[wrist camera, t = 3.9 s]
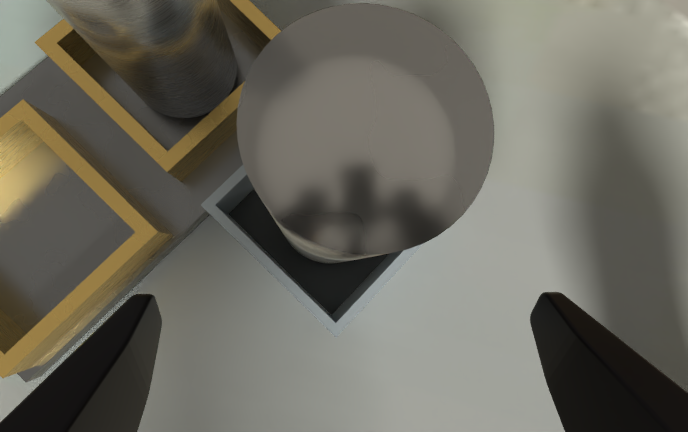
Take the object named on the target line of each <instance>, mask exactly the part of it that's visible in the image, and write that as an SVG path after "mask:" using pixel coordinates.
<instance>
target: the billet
mask: <svg viewBox="0 0 688 432" xmlns="http://www.w3.org/2000/svg"><path fill="white" fill-rule="evenodd" d="M237 140H238V145H239V150H240V155H241V159H242V162H243V165H244V168H245V171H246V173H247V175H248V177H249V179H250V181H251V183H252V185H253V187H254V189H255V191H256V192H257V194H258V195H259V197H260V199H261V200H262V202H263V203H264V205H265V206H266V208H267V209H268V211H269V212H270V214H271V216H272V217H273V219H274V220H275V222H276V223H277V225H278V226H279V228H280V230H281V231H282V233H283V234H284V236H285V237H286V239H287V240H288V242H289V243H290V245H291V246H292V247H293V248H294V249H295V250H296V251H297V252H298V253H300V254H301V255H303V256H304V257H306V258H308V259H310V260H313V261H316V262H320V263H330V264H331V263H340V262H345V261H351V260H356V259H362V258H367V257H373V256H378V255H384V254H389V253H394V252H398V251H403V250H407V249H410V248H412V247H415V246H418V245H421V244H423V243H425V242H427V241H429V240H431V239H432V238H434V237H436V236H438V235H439V234H441V233H442V232H443V231H445V230H446V229H448V228H449V227H450V226H452V225H453V224H454V223H455V222H456V221H457V220H458V219H459V218H460V217H461V216H462V215H463V214H464V213H465V211H466V210H467V209H468V208H469V206H470V205H471V204H472V203H473V201H474V199H475V198H476V196H477V194H478V193H479V191H480V189H481V188H482V185H483V183H484V181H485V178H486V176H487V174H488V170H489V166H490V163H491V159H492V153H493V145H494V122H493V114H492V108H491V104H490V100H489V97H488V93H487V91H486V88H485V86H484V83H483V81H482V79H481V77H480V75H479V73H478V71H477V70H476V68H475V66H474V65H473V63H472V62H471V60H470V59H469V58H468V56H467V55H466V54H465V52H464V51H463V50H462V49H461V48H460V47H459V46H458V45H457V44H456V43H455V41H454V40H452V39H451V38H450V37H449V36H448V35H447V34H445V33H444V32H443V31H442V30H440V29H439V28H437V27H436V26H434V25H433V24H431V23H430V22H428V21H426V20H424V19H422V18H420V17H418V16H416V15H414V14H412V13H409V12H406V11H403V10H401V9H398V8H393V7H389V6H384V5H378V4H367V3H358V4H344V5H338V6H332V7H328V8H325V9H321V10H318V11H315V12H313V13H311V14H308V15H306V16H304V17H302V18H300V19H298V20H297V21H295V22H293V23H292V24H290V25H288V26H287V27H286V28H285V29H283V30H282V31H281V32H280V33H278V34H277V35H276V36H275V37H274V38H273V39H272V40H271V41H270V42H269V43H268V44H267V45H266V46H265V47H264V49H263V50H262V51H261V53H260V54H259V55H258V57H257V58H256V60H255V61H254V63H253V65H252V67H251V69H250V70H249V72H248V74H247V77H246V79H245V82H244V85H243V87H242V90H241V95H240V99H239V104H238V111H237Z"/></svg>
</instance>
